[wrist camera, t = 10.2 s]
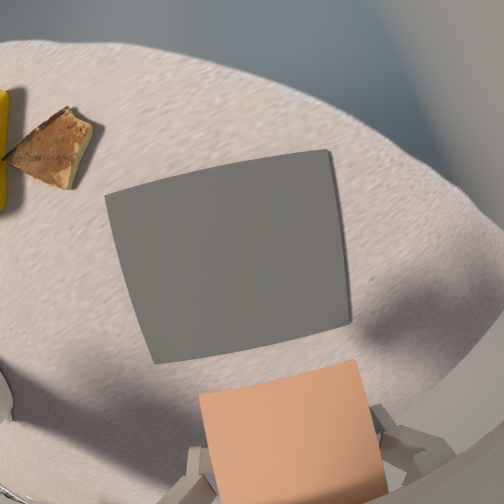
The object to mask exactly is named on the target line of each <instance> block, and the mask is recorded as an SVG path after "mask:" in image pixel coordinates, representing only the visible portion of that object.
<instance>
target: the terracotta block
mask: <svg viewBox="0 0 504 504" xmlns="http://www.w3.org/2000/svg"><path fill="white" fill-rule="evenodd" d="M198 395H199V401H200V407H201V413H202V418H203V423H204V428H205V433H206V438H207V443H208V448H209V453H210V457H211V462H212V466H213V470H214V475H215V479H216V483H217V487H218V491H219V495H220V499H221V503H222V504H363V503H366V502H368V501H371V500H373V499H376V498H378V497H381V496H383V495H385V494H388V493H389V491H388V486H387V481H386V476H385V472H384V467H383V462H382V458H381V453H380V449H379V445H378V441H377V437H376V432H375V428H374V425H373V421H372V417H371V413H370V409H369V406H368V402H367V398H366V395H365V391H364V388H363V384H362V381H361V377H360V374H359V370H358V367H357V364H356V360H355V359H352V360H349V361H346V362H342V363H339V364H336V365H333V366H329V367H326V368H322V369H319V370H315V371H311V372H308V373H304V374H300V375H296V376H292V377H288V378H284V379H279V380H275V381H271V382H266V383H261V384H256V385H251V386H246V387H241V388H235V389H229V390H223V391H217V392H210V393H203V394H198Z"/></svg>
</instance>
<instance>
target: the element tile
mask: <svg viewBox="0 0 504 504" xmlns="http://www.w3.org/2000/svg"><path fill="white" fill-rule="evenodd" d="M9 103H10V98H9V94H8V93H7V92H5V91H3V90H0V212H1V211H2V209H3V208H4V206H5V203H6V197H7V188H6V162H4V161H2V160H1V159H2V158H3V157H4V156H5V155H6V137H7V122H8V111H9Z"/></svg>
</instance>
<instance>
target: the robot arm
mask: <svg viewBox="0 0 504 504" xmlns="http://www.w3.org/2000/svg"><path fill="white" fill-rule="evenodd" d="M12 407H13V398H12V394H11V391H10V389H9V386H8V384H7V382H6V380H5V378H4V377H3V375H2V373H1V371H0V424H1V423H2V422H3V421H5V422H7V423H10V422H11V421H12V414H11V409H12ZM369 409H370V413H371V417H372V421H373V425H374V428H375V432H376V437H377V441H378V445H379V449H380V453H381V458H382V460H384V461H386V462H388V463H390V464H392V465H393V466H396V467H397V468H399V469H402V470H403V471H405V472H407V474H406V477H405V479H404V481H403V484H402V485H403V487H401V488H399V489H398V490H395V491H393V492H391V493H388V494H386V495H384V496H381V497H379V498H376V499H374V500H372V501H369V502H366V503H364V504H504V421H503V422H502V423H501V424H499V425H498V426H497V427H496V428H494V429H493V430H492V431H491V432H489V433H488V434H487V435H486V436H484V437H483V438H482V439H480V440H479V441H478V442H476V443H475V444H474V445H472V446H471V447H470V448H468V449H467V450H465V451H464V452H462V453H461V454H459V455H458V456H457V455H456V454H455V453H454V451H453V450H452V449H451V448H450V446H449V445H448V444H447V443H446V442H445V440H444V439H442V438H439V437H436V436H432V435H429V434H426V433H423V432H420V431H417V430H414V429H411V428H408V427H405V426H402V425H399V426H397V425H396V424H395V422H394V421H393V420H392V418H391V417H390V415H389V414H388V413H387V411H386V410H385V408H384V407H383V406H382V404H380V403H379V404H376V405H374V406H371V407H369ZM216 494H219V491H218V487H217V483H216V479H215V475H214V470H213V466H212V462H211V457H210V453H209V448H208V445H205V446H192V447H190V448H189V451H188V462H187V472H186V476H182V477H181V478H180V479H179V481H178V482H177V483H176V484H175V485H174V486H173V487H172V488H171V489H170V490H169V491H168V492H167V493H166V494H165V495H164V496H163V497H162V498H161V499H160V500H159V501H158V502H157V503H156V504H211V503H212V502H213V500H214V499H215V497H216V496H217V495H216Z"/></svg>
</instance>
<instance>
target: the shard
mask: <svg viewBox="0 0 504 504" xmlns="http://www.w3.org/2000/svg"><path fill="white" fill-rule="evenodd" d="M92 137H93V126H92V125H91V124H89V123H87V122H85V121H82V120H80V119H78V118H76V117H75V116H74V114H73V112H72V110H71V109H70V107H69V106H66V107H65V108H63V109H62V110H60V111H59V112H58V113H56V114H54V115H53V116H51V117H50V118H49V119H48V120H47V121H45V122H43V123H42V124H41V125H39V126H38V127H37V128H35V129H34V130H33V131H31V132H30V133H29V134H28V135H27V136H26V137H25V138H23V139H22V140H21V141H20V142H19V143H18V144H17V145H16V147H15V148H14V149H13V150H11V151H10V152H9V153H7V154H6V155H5V156H4V157H3V158H2V159H1V160H2V161H4V162H7V163H8V164H10V165H13V166H15V167H17V168H19V169H21V170H22V171H23V172H25V173H26V174H29V175H31V176H33V177H34V178H36V179H38V180H41V181H43V182H44V183H47V184H49V185H52V186H54V185H55V186H57V187H59V188H61V189H65V190H70V189H71V188H72V185H73V182H74V179H75V176H76V173H77V170H78V167H79V164H80V161H81V158H82V156H83V154H84V152H85V151H86V149H87V147H88V144H89V142H90V140H91V138H92Z"/></svg>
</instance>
